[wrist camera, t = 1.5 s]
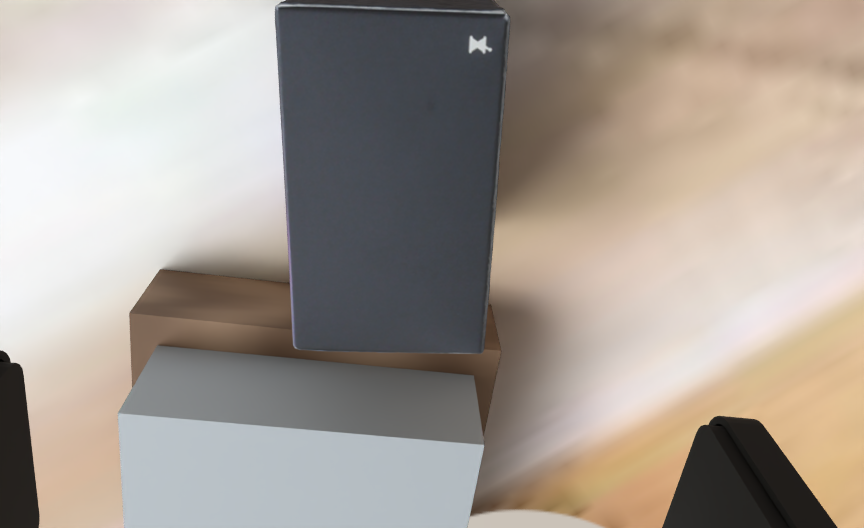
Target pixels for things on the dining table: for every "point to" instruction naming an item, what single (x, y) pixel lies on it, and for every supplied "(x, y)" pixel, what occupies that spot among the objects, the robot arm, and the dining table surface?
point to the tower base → (269, 329)
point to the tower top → (296, 444)
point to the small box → (391, 170)
